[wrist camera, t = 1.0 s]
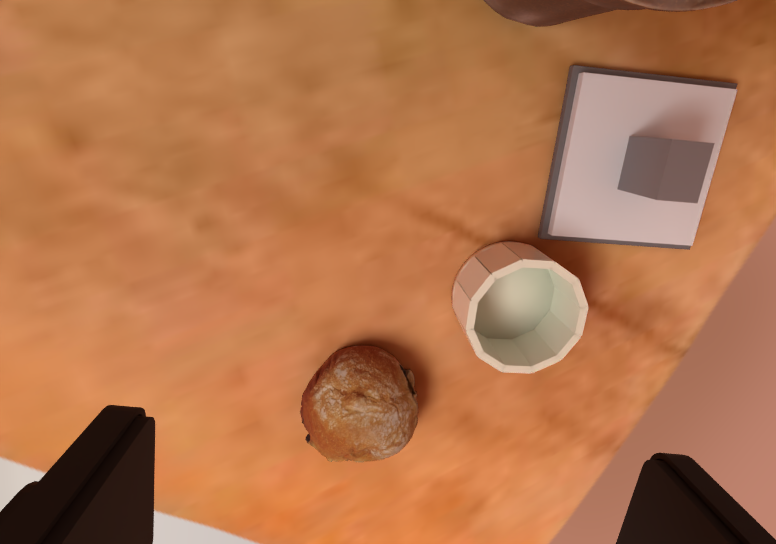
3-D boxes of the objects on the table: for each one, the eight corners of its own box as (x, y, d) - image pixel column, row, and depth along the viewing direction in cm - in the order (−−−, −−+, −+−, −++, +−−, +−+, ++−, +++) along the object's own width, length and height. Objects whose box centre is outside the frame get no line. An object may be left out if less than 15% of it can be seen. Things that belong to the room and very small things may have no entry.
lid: (578, 73, 35) (621, 65, 30) (729, 90, 37) (797, 85, 31) (547, 233, 39) (580, 252, 33) (685, 243, 40) (739, 263, 35)
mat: (570, 65, 36) (573, 65, 35) (731, 84, 37) (737, 83, 37) (537, 237, 40) (540, 238, 39) (684, 247, 41) (689, 249, 40)
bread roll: (415, 391, 47) (460, 414, 40) (340, 473, 44) (374, 515, 37) (352, 318, 44) (389, 329, 37) (268, 401, 41) (290, 431, 34)
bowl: (459, 237, 39) (476, 256, 34) (565, 244, 40) (598, 264, 35) (445, 338, 42) (459, 370, 37) (545, 343, 43) (572, 375, 38)
